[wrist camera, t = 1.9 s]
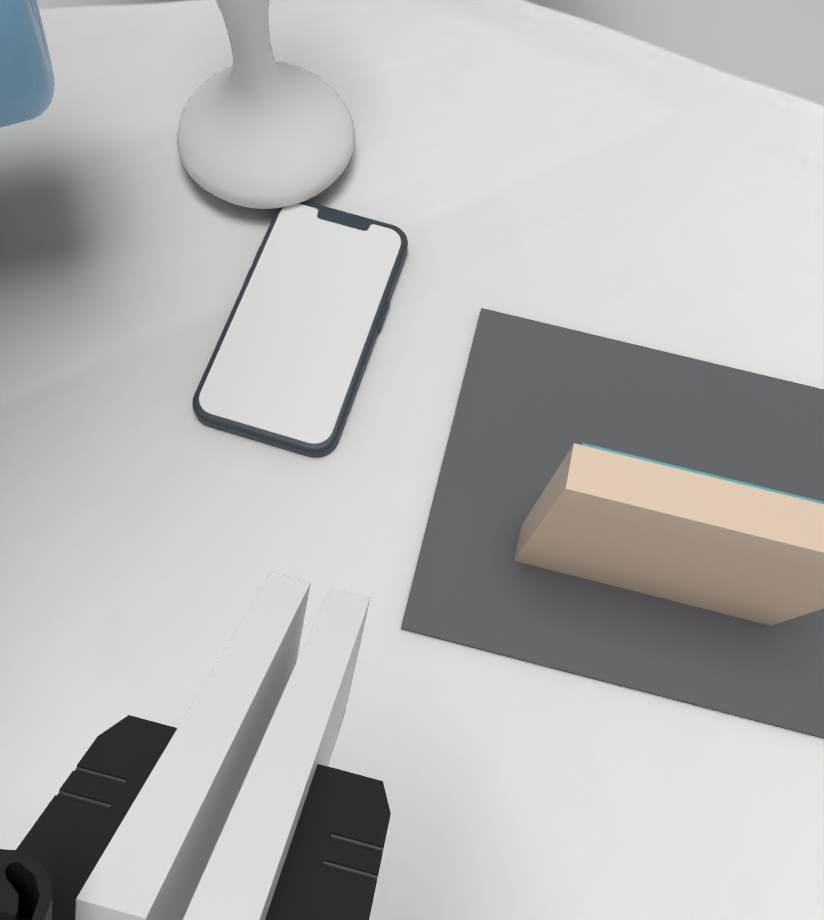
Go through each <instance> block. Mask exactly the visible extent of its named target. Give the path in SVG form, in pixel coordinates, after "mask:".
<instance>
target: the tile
mask: <svg viewBox="0 0 824 920" xmlns="http://www.w3.org/2000/svg"><path fill="white" fill-rule="evenodd" d="M514 561H517V562H521V563H525V564H529V565H533V566H537V567H541V568H545V569H548V570H552V571H556V572H560V573H564V574H568V575H572V576H576V577H580V578H584V579H588V580H592V581H596V582H600V583H604V584H608V585H612V586H616V587H620V588H624V589H628V590H631V591H635V592H639V593H643V594H647V595H651V596H655V597H659V598H663V599H667V600H671V601H675V602H679V603H683V604H687V605H691V606H695V607H699V608H703V609H707V610H711V611H714V612H718V613H722V614H726V615H730V616H734V617H738V618H742V619H746V620H750V621H754V622H758V623H762V624H766V625H770V626H772V625H775V624H778V623H781V622H784V621H787V620H790V619H793V618H796V617H799V616H802V615H805V614H808V613H811V612H814V611H818V610H821V609H824V502H822V501H818V500H814V499H810V498H806V497H802V496H798V495H794V494H790V493H786V492H782V491H777V490H773V489H769V488H765V487H761V486H757V485H753V484H749V483H745V482H741V481H737V480H733V479H728V478H724V477H720V476H716V475H712V474H708V473H704V472H700V471H696V470H692V469H688V468H683V467H679V466H675V465H671V464H667V463H663V462H659V461H655V460H651V459H647V458H643V457H639V456H634V455H630V454H626V453H622V452H618V451H614V450H610V449H606V448H602V447H598V446H594V445H590V444H585V443H582V444H581V445H579V444H575V443H574V444H573V446H572V447H571V449H570V450H569V452H568V453H567V455H566V457H565V458H564V460H563V461H562V463H561V464H560V466H559V467H558V469H557V471H556V472H555V474H554V475H553V477H552V478H551V480H550V482H549V483H548V485H547V486H546V488H545V489H544V491H543V493H542V494H541V496H540V497H539V499H538V500H537V502H536V504H535V505H534V507H533V508H532V510H531V511H530V513H529V515H528V516H527V518H526V519H525V521H524V522H523V524H522V526H521V529H520V534H519V539H518V544H517V549H516V554H515V558H514Z"/></svg>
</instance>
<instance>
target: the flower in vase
mask: <svg viewBox="0 0 824 920" xmlns="http://www.w3.org/2000/svg"><path fill="white" fill-rule="evenodd" d="M216 2H217V4H218V6H219V9H220V11H221V13H222V16H223V19H224V22H225V25H226V28H227V31H228V35H229V39H230V43H231V48H232V54H233V66H231V67H229V68H227V69H224V70H222V71H221V72H219V73H217V74H215V75H214V76H213V77H211V78H210V79H208V80H207V81H206V82H205V83H204V84H203V85H201V86H200V87H199V88H198V89H197V90H196V91H195V92H194V93H193V95H192V96H191V97H190V98H189V100H188V102H187V103H186V105H185V107H184V109H183V112H182V114H181V118H180V122H179V127H178V133H177V146H178V152H179V156H180V159H181V161H182V164H183V166H184V168H185V169H186V171H187V172H188V174H189V175H190V176H191V177H192V179H193V180H194V181H195V182H196V183H197V184H198V185H200V186H201V187H202V188H203V189H205V190H206V191H208V192H209V193H211V194H213V195H214V196H216V197H218V198H220V199H223V200H225V201H227V202H230V203H232V204H236V205H239V206H243V207H248V208H256V209H275V208H282V207H287V206H291V205H295V204H298V203H301V202H304V201H307V200H309V199H311V198H313V197H315V196H316V195H318V194H319V193H321V192H323V191H324V190H325V189H326V188H328V187H329V186H330V185H331V184H332V183H333V182H334V181H336V179H337V178H338V177H339V176H340V175H341V174H342V173H343V171H344V170H345V168H346V167H347V165H348V163H349V161H350V159H351V157H352V153H353V150H354V145H355V128H354V124H353V120H352V117H351V115H350V112H349V111H348V109H347V107H346V105H345V103H344V102H343V100H342V98H341V97H340V95H339V94H338V93H337V92H336V91H335V89H334V88H332V87H331V86H330V85H329V84H328V83H327V82H326V81H324V80H323V79H321V78H320V77H318V76H316V75H314V74H313V73H311V72H309V71H307V70H305V69H302V68H300V67H297V66H295V65H291V64H288V63H283V62H278V61H275V59H274V56H273V53H272V48H271V42H270V33H269V17H268V7H269V0H216Z"/></svg>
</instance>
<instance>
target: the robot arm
mask: <svg viewBox="0 0 824 920" xmlns="http://www.w3.org/2000/svg"><path fill="white" fill-rule="evenodd" d="M53 93H54V76H53V70H52V65H51V60H50V55H49V51H48V46H47V42H46V37H45V33H44V29H43V25H42V21H41V17H40V12H39V8H38V5H37V1H36V0H0V127H3V126H7V125H11V124H15V123H19V122H23V121H27V120H30V119H33V118H36V117H37V116H39V115H41V114H42V113H43V112H44V111H45V110H46V109H47V108H48V106H49V105H50V103H51V100H52V97H53ZM310 583H311V582H308V581H304V580H300V579H296V578H292V577H288V576H284V575H280V574H277V573H273V572H270V574H269V575H268V577H267V579H266V580H265V582H264V584H263V585H262V587H261V589H260V590H259V592H258V594H257V595H256V597H255V599H254V601H253V602H252V604H251V606H250V607H249V609H248V611H247V612H246V614H245V616H244V617H243V619H242V621H241V622H240V624H239V626H238V627H237V629H236V631H235V632H234V634H233V636H232V638H231V639H230V641H229V643H228V644H227V646H226V648H225V649H224V651H223V653H222V654H221V656H220V658H219V659H218V661H217V663H216V664H215V666H214V668H213V669H212V671H211V673H210V675H209V676H208V678H207V680H206V681H205V683H204V685H203V686H202V688H201V690H200V691H199V693H198V695H197V696H196V698H195V700H194V701H193V703H192V705H191V706H190V708H189V710H188V712H187V713H186V715H185V717H184V718H183V720H182V722H181V723H180V725H179V727H178V728H175V727H171V726H167V725H163V724H160V723H156V722H152V721H148V720H145V719H141V718H137V717H134V716H130V715H128V716H127V717H125V718H124V719H122V720H121V721H120V722H118V723H117V724H115V725H114V726H112V727H111V728H109V729H108V730H106V731H105V732H103V733H102V734H100V735H99V736H98V737H97V738H96V740H95V741H94V742H93V744H92V745H91V746H90V748H89V749H88V751H87V752H86V753H85V755H84V756H83V758H82V759H81V760H80V762H79V763H78V765H77V768H76V770H75V771H72V773H71V774H70V776H69V777H68V778H67V780H66V781H65V783H64V784H63V785H62V787H61V788H60V791H59V793H58V795H55V796H54V798H53V799H52V801H51V802H50V803H49V805H48V806H47V808H46V809H45V810H44V812H43V813H42V815H41V816H40V817H39V819H38V820H37V821H36V823H35V824H34V826H33V827H32V828H31V830H30V831H29V833H28V834H27V835H26V837H25V838H24V840H23V841H22V842H21V844H20V845H19V846H18V848H17V849H16V850H3V849H0V920H369V917H370V912H371V907H372V902H373V897H374V892H375V888H376V883H377V877H378V873H379V868H380V863H381V858H382V852H383V848H384V843H385V838H386V834H387V829H388V824H389V819H390V814H391V813H390V809H389V805H388V801H387V797H386V793H385V789H384V785H383V781H380V780H376V779H372V778H368V777H365V776H361V775H357V774H354V773H350V772H346V771H342V770H339V769H335V768H331V767H328V764H329V761H330V758H331V754H332V751H333V748H334V745H335V742H336V739H337V736H338V733H339V729H340V726H341V723H342V720H343V717H344V714H345V710H346V705H347V701H348V696H349V692H350V687H351V683H352V678H353V674H354V669H355V665H356V660H357V655H358V651H359V646H360V642H361V637H362V633H363V628H364V624H365V619H366V615H367V610H368V606H369V601H370V597H366V596H362V595H358V594H354V593H350V592H346V591H342V590H339V589H335V588H331V587H330V588H329V590H328V592H327V595H326V597H325V599H324V602H323V604H322V606H321V608H320V611H319V613H318V615H317V617H316V620H315V622H314V624H313V626H312V629H311V631H310V633H309V635H308V638H307V640H306V642H305V645H304V647H303V649H302V651H301V654H300V656H299V658H298V660H297V655H298V650H299V644H300V638H301V633H302V627H303V622H304V616H305V611H306V605H307V600H308V594H309V588H310ZM296 661H297V663H296Z"/></svg>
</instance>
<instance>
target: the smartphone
mask: <svg viewBox="0 0 824 920" xmlns="http://www.w3.org/2000/svg"><path fill="white" fill-rule="evenodd" d="M407 245H408V241H407V237H406V235H405V233H404V232H403V231H402V230H401V229H400V228H398V227H396V226H394V225H390V224H387V223H383V222H379V221H376V220H372V219H369V218H365V217H361V216H358V215H354V214H350V213H347V212H343V211H339V210H336V209H332V208H329V207H325V206H321V205H318V204H314V203H310V202H307V201H304V202H301V203H298V204H295V205H291V206H287V207H282V208H277V210H276V212H275V214H274V217H273V219H272V221H271V223H270V226H269V228H268V230H267V232H266V235H265V237H264V239H263V241H262V244H261V246H260V247H259V250H258V252H257V254H256V256H255V259H254V261H253V264H252V266H251V268H250V270H249V272H248V274H247V277H246V279H245V281H244V284H243V286H242V289H241V291H240V293H239V295H238V298H237V300H236V302H235V304H234V307H233V309H232V311H231V313H230V316H229V318H228V320H227V322H226V325H225V327H224V329H223V331H222V334H221V336H220V338H219V341H218V343H217V345H216V347H215V350H214V352H213V354H212V356H211V359H210V361H209V363H208V365H207V368H206V370H205V372H204V374H203V377H202V379H201V381H200V383H199V386H198V388H197V390H196V392H195V395H194V397H193V409H194V412H195V414H196V416H197V417H198V419H199V420H200V421H201V422H202V423H203V424H205V425H207V426H209V427H212V428H216V429H219V430H222V431H226V432H229V433H232V434H236V435H239V436H242V437H246V438H249V439H252V440H256V441H259V442H262V443H265V444H269V445H272V446H275V447H279V448H282V449H285V450H289V451H292V452H295V453H299V454H302V455H305V456H309V457H323V456H326V455H328V454H329V453H331V452H332V451H333V450H334V449H335V448H336V446H337V444H338V442H339V439H340V437H341V434H342V431H343V429H344V426H345V423H346V420H347V418H348V415H349V412H350V409H351V407H352V404H353V401H354V399H355V396H356V393H357V390H358V388H359V385H360V382H361V379H362V377H363V374H364V371H365V369H366V366H367V363H368V360H369V358H370V355H371V352H372V349H373V346H374V344H375V341H376V338H377V335H378V333H379V332H380V331H381V328H382V325H383V323H384V320H385V317H386V314H387V312H388V309H389V306H390V300H391V297H392V294H393V291H394V288H395V286H396V283H397V280H398V277H399V275H400V272H401V269H402V266H403V264H404V261H405V258H406V255H407Z"/></svg>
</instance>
